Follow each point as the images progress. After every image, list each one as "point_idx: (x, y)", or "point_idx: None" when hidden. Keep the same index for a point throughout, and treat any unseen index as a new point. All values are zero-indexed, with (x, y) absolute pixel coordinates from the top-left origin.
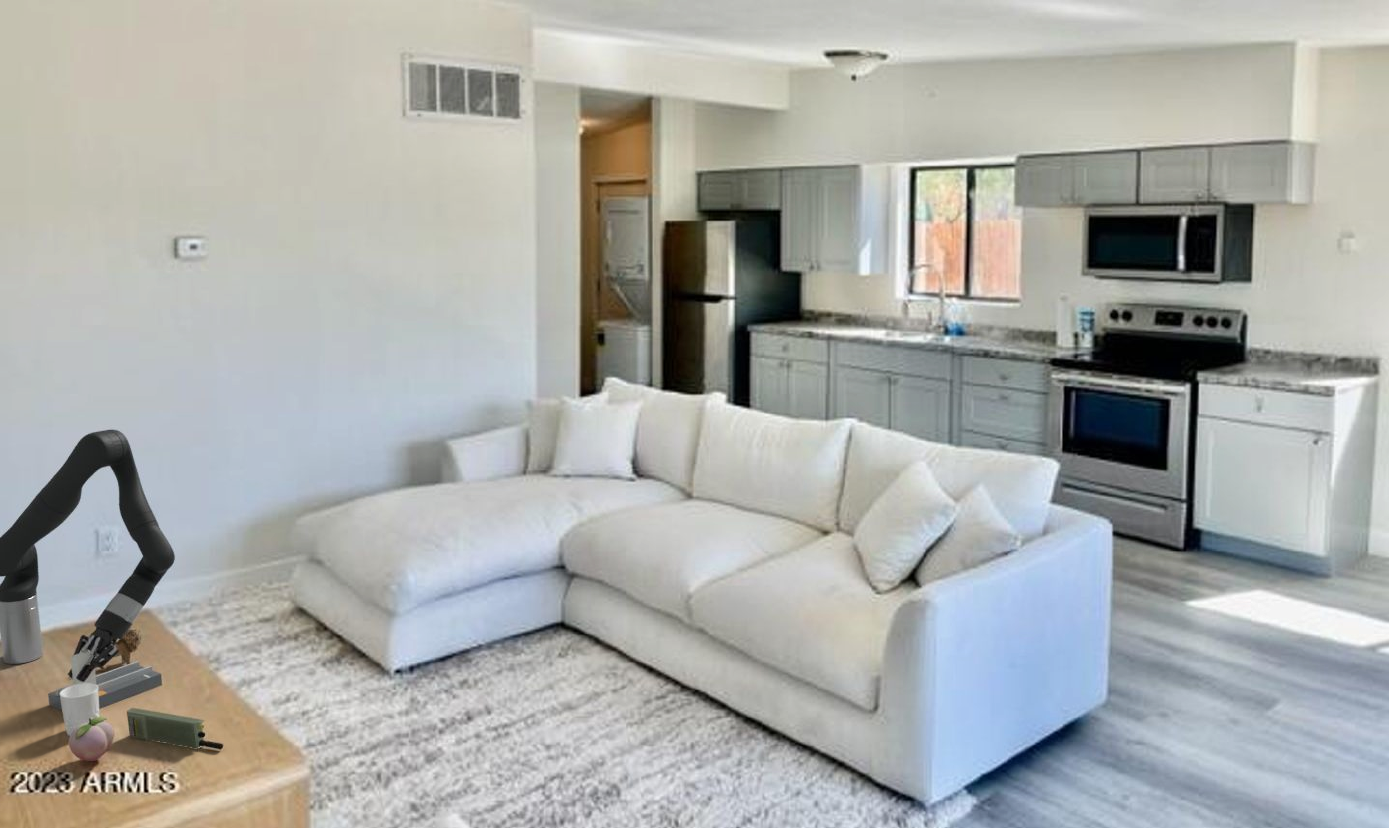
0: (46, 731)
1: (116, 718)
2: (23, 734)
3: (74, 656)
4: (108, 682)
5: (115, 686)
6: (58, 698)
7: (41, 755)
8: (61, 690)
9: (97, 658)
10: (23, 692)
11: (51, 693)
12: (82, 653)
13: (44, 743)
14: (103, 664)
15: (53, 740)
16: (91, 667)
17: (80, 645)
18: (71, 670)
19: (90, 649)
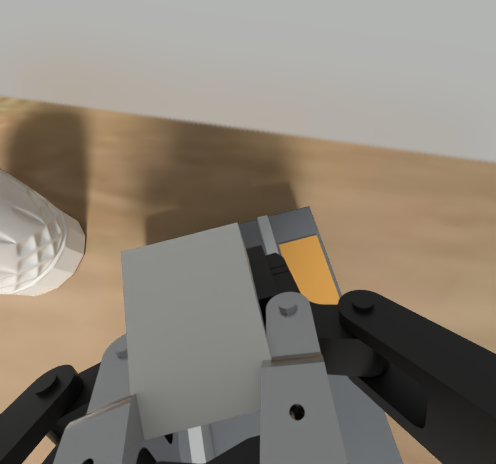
0: (124, 180)
1: (35, 362)
2: (152, 138)
3: (207, 251)
4: (190, 435)
5: (189, 458)
6: (239, 224)
7: (8, 147)
8: (262, 234)
9: (6, 433)
10: (470, 187)
11: (302, 215)
12: (231, 339)
13: (61, 163)
14: (47, 457)
15: (58, 181)
16: None
17: (460, 389)
18: (252, 258)
19: (227, 457)
